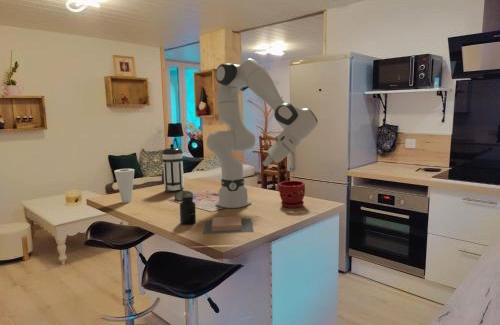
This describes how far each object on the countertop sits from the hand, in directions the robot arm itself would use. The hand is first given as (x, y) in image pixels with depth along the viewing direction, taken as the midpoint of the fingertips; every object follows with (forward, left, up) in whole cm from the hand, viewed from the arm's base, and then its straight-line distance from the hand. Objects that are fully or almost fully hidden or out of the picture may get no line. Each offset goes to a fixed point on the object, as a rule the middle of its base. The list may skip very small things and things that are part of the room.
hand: (263, 165), depth 145 cm
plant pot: (-26, +16, -26) cm, 40 cm away
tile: (+4, -10, -24) cm, 26 cm away
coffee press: (-70, -51, -26) cm, 90 cm away
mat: (+4, -16, -25) cm, 30 cm away
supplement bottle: (-4, -34, -26) cm, 42 cm away
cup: (-47, -74, -26) cm, 91 cm away
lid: (-48, -42, -26) cm, 69 cm away
